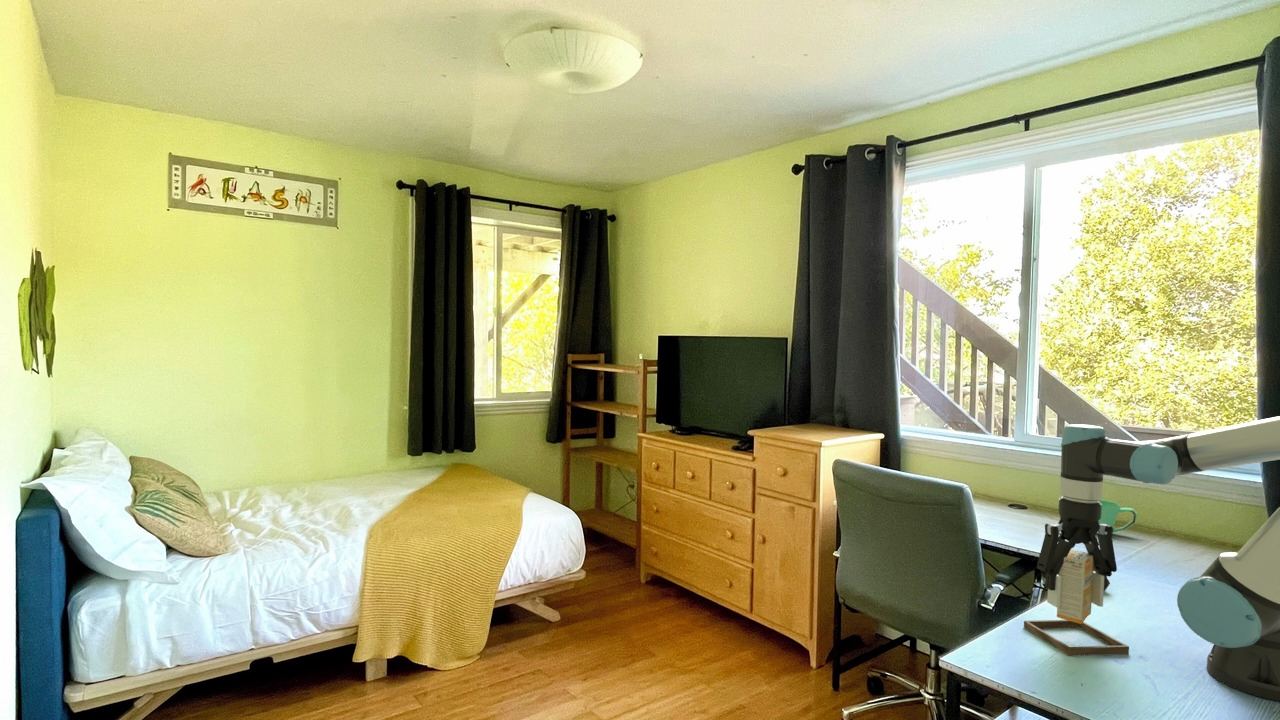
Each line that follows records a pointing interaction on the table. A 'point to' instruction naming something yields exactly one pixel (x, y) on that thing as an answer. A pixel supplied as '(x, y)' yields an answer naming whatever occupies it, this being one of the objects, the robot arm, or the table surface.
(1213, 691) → the table surface
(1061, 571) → the supplement box
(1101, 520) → the mug
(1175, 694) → the table surface
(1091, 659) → the table surface
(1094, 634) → the frame
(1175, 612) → the table surface
